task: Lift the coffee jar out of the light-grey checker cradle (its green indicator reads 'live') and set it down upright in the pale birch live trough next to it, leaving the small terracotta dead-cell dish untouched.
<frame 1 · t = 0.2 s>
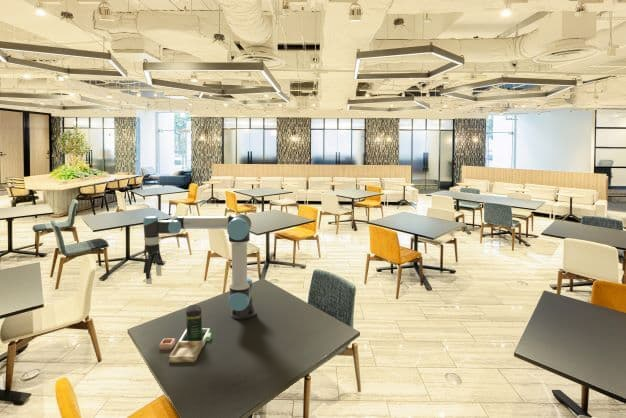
hand: (154, 279, 212), 28 cm above the table, fingers open, 13 cm apart
live trough: (186, 354, 186), on the table
checker cradle: (194, 339, 201), on the table
coffee jar: (194, 339, 201), resting in checker cradle
dead-cell dish: (167, 346, 193), on the table
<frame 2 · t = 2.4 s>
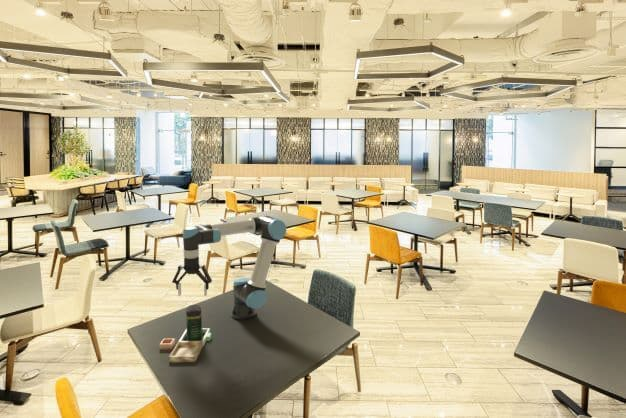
hand: (192, 295, 197), 25 cm above the table, fingers open, 13 cm apart
nothing on the table moved.
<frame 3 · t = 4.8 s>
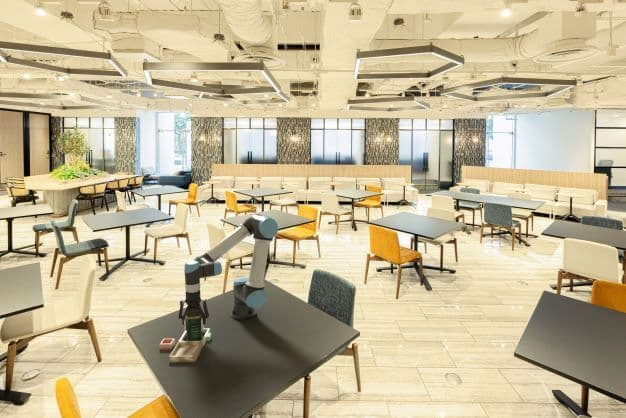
hand: (194, 330, 200), 5 cm above the table, fingers closed on coffee jar, 8 cm apart
coffee jar: (194, 339, 201), resting in checker cradle, touching gripper
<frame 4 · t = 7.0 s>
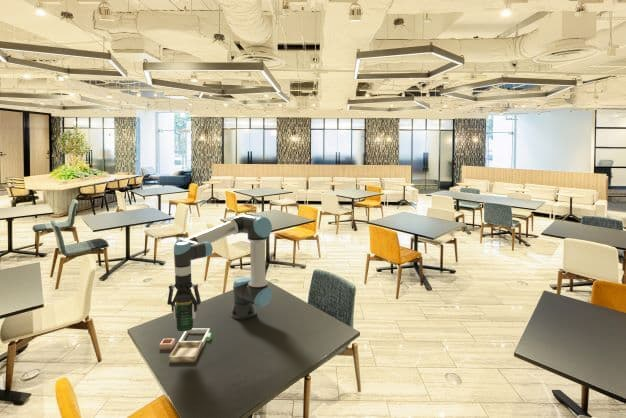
hand: (184, 317, 184), 20 cm above the table, fingers closed on coffee jar, 8 cm apart
coffee jar: (185, 327, 184), point 14 cm above the table, touching gripper
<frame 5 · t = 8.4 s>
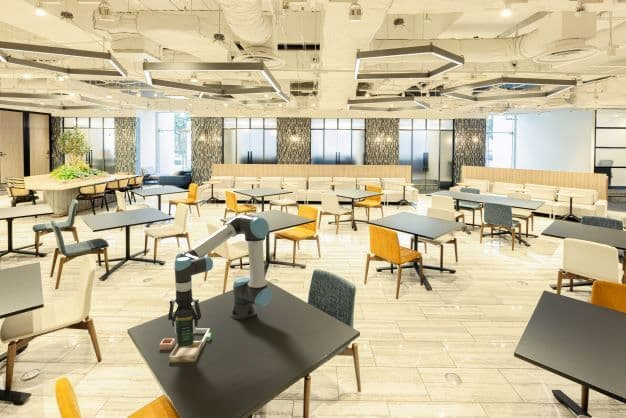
hand: (185, 332, 184), 12 cm above the table, fingers closed on coffee jar, 8 cm apart
coffee jar: (185, 342, 185), point 6 cm above the table, touching gripper
when the fingers open (8 cm above the table, at t = 9.6 s): coffee jar drops 1 cm, resting on live trough.
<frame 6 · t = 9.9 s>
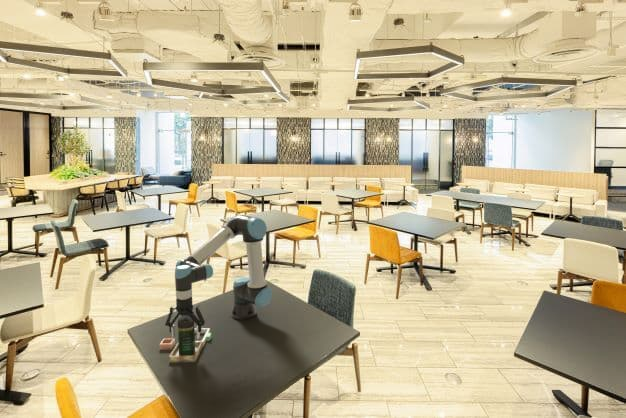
hand: (185, 338, 185), 9 cm above the table, fingers open, 11 cm apart
coffee jar: (187, 352, 186), point 1 cm above the table, touching live trough
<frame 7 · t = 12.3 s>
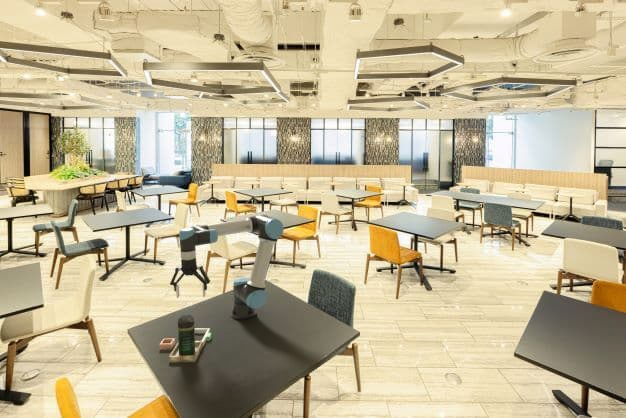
hand: (191, 296, 197), 25 cm above the table, fingers open, 13 cm apart
nothing on the table moved.
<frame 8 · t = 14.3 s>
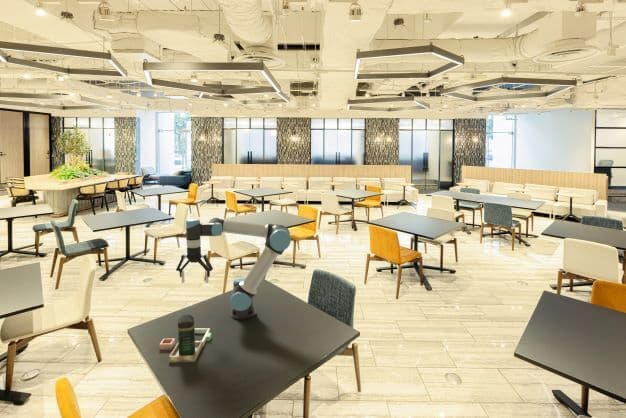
hand: (195, 282, 212), 27 cm above the table, fingers open, 13 cm apart
nothing on the table moved.
at the end: coffee jar inside the target area on the live trough (0.3 cm from its centre), point 0.8 cm above the live trough's base; coffee jar tilted 0°; the gripper is holding nothing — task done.
